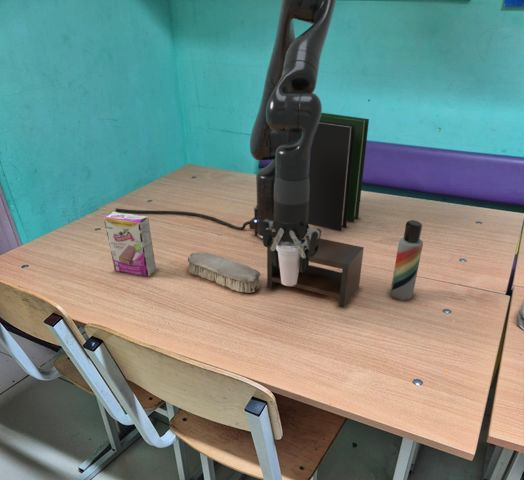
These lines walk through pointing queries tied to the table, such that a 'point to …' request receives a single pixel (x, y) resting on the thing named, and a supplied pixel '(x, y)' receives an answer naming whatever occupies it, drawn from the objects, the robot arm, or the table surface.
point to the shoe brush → (224, 272)
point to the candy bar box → (130, 243)
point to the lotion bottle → (407, 261)
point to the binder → (336, 169)
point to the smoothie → (288, 263)
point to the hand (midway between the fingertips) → (289, 267)
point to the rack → (326, 270)
